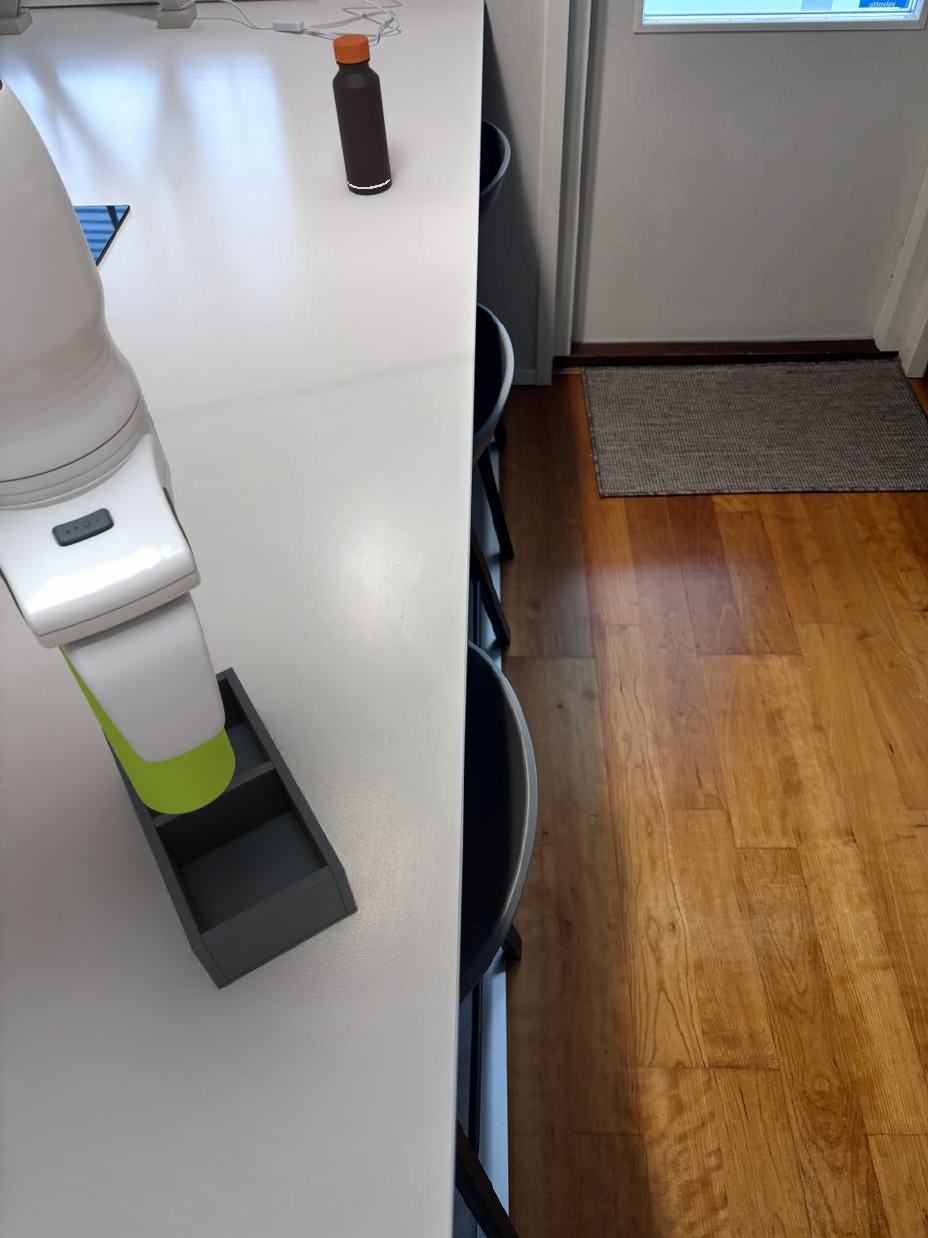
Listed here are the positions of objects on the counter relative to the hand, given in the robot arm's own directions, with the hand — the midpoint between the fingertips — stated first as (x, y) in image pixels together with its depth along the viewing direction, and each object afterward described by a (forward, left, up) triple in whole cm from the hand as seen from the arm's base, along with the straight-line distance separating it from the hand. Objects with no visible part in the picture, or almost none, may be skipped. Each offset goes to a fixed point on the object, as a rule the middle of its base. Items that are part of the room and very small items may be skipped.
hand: (153, 674), depth 50 cm
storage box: (0, +5, -25) cm, 26 cm away
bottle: (+59, +99, -26) cm, 118 cm away
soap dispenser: (-1, -1, -9) cm, 9 cm away
